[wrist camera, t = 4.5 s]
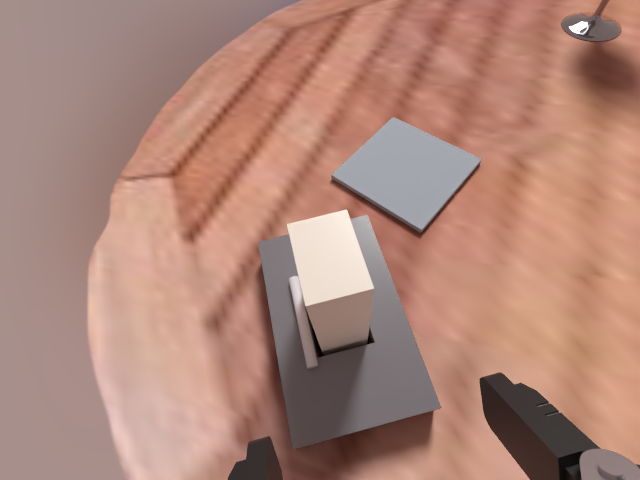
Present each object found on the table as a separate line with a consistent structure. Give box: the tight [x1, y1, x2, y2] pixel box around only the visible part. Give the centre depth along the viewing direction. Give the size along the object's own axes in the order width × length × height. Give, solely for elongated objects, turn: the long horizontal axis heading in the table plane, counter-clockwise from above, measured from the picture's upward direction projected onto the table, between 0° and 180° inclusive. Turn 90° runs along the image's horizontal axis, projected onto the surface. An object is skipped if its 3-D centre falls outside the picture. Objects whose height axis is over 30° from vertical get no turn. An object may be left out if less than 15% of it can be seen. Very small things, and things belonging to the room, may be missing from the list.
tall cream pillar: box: [287, 210, 374, 356], centre depth 23 cm, size 5×4×12 cm
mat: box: [331, 117, 482, 233], centre depth 36 cm, size 11×11×1 cm
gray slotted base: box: [258, 215, 441, 449], centre depth 27 cm, size 16×10×3 cm, turn 13°
